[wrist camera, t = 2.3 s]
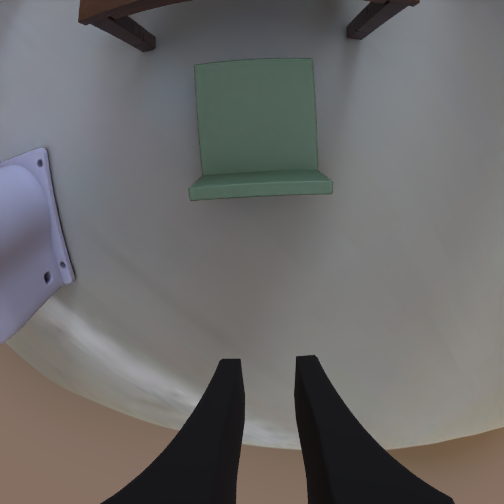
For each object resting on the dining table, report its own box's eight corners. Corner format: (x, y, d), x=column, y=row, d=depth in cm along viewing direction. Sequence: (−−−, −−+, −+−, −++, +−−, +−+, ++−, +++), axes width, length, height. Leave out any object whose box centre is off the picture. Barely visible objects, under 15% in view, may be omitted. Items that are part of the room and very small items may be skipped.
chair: (308, 180, 15) (332, 208, 10) (213, 185, 15) (191, 215, 10) (303, 70, 13) (326, 41, 8) (205, 75, 13) (177, 49, 8)
